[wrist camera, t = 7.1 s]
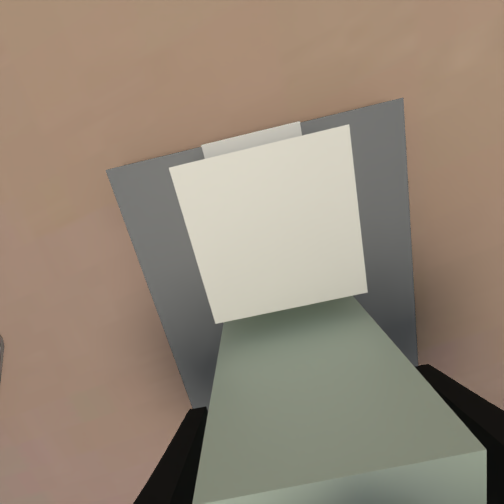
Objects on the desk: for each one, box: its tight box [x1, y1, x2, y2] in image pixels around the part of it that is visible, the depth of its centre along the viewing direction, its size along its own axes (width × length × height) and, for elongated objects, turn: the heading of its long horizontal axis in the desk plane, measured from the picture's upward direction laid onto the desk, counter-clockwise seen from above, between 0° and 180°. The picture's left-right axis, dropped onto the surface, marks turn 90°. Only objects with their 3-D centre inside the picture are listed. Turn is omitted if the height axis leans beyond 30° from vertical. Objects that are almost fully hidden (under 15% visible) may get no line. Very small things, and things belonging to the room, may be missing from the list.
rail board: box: [106, 98, 418, 410], centre depth 11 cm, size 19×11×5 cm, turn 13°
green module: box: [192, 296, 487, 504], centre depth 8 cm, size 7×4×7 cm, turn 14°
